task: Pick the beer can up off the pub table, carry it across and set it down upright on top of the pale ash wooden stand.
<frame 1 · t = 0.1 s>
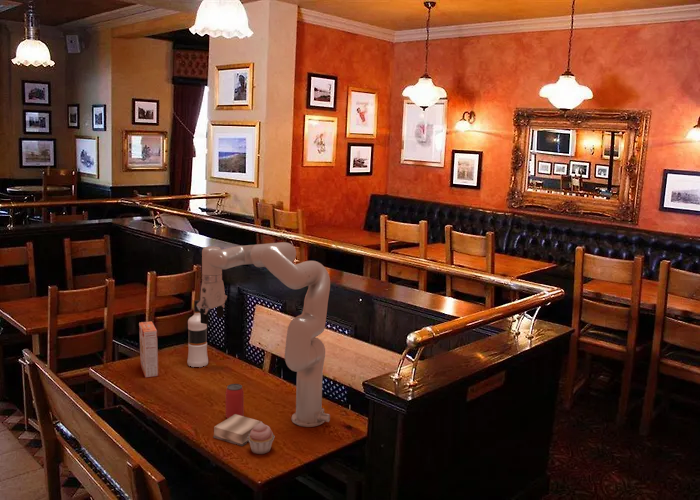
hand: (212, 320, 259), 31 cm above the table, tool pointing down, fingers open, 9 cm apart
stand: (238, 434, 232), on the table
cupcake: (260, 450, 221), on the table
cracker box: (149, 372, 287), on the table
vodka: (197, 364, 297), on the table
beer can: (234, 417, 246), on the table
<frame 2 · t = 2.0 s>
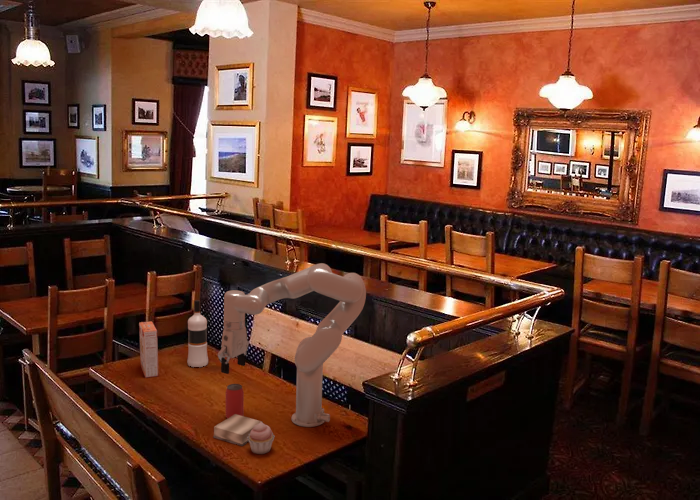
hand: (233, 369, 242), 19 cm above the table, tool pointing down, fingers open, 9 cm apart
nothing on the table moved.
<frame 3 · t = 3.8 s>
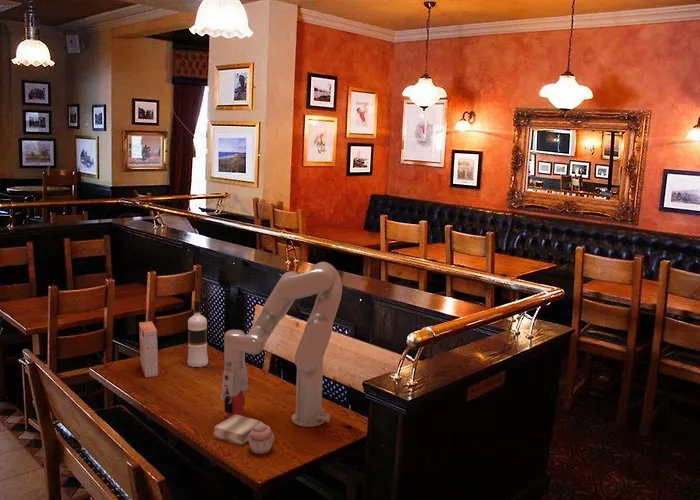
hand: (234, 408, 245), 3 cm above the table, tool pointing down, fingers closed on beer can, 6 cm apart
beer can: (234, 417, 246), on the table, touching gripper
everything else where it was.
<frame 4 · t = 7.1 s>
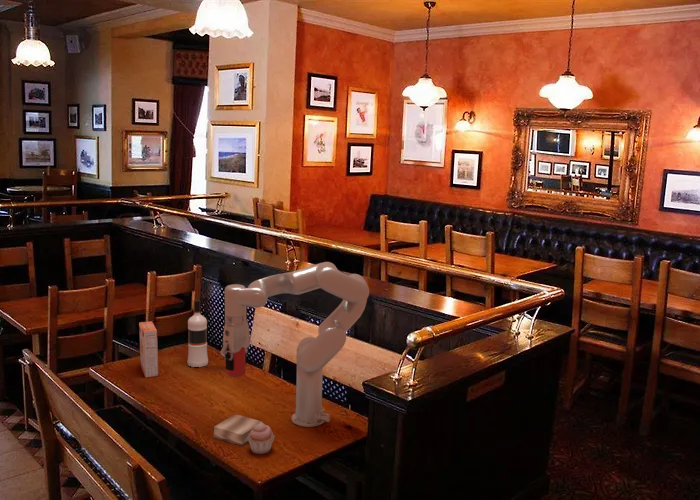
hand: (236, 366, 238), 21 cm above the table, tool pointing down, fingers closed on beer can, 6 cm apart
beer can: (236, 375, 239), point 18 cm above the table, touching gripper
everything else where it was.
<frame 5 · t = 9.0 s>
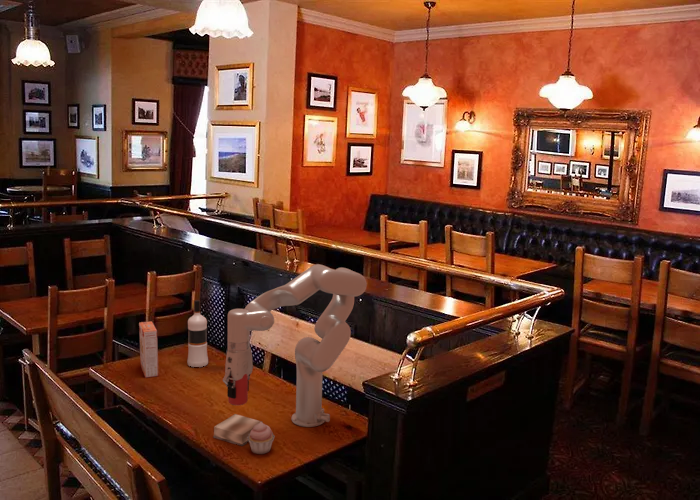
hand: (238, 393, 229), 15 cm above the table, tool pointing down, fingers closed on beer can, 6 cm apart
beer can: (238, 402, 229), point 12 cm above the table, touching gripper
everything else where it was.
when the fingers open (9 cm above the table, at t = 10.6 s): beer can drops 2 cm, resting on stand.
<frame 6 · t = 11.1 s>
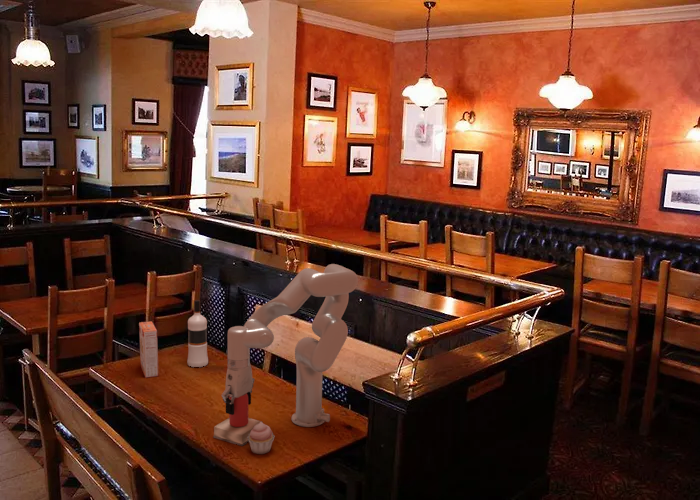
hand: (238, 408, 230), 10 cm above the table, tool pointing down, fingers open, 9 cm apart
beer can: (238, 424, 231), point 4 cm above the table, touching stand
everything else where it was.
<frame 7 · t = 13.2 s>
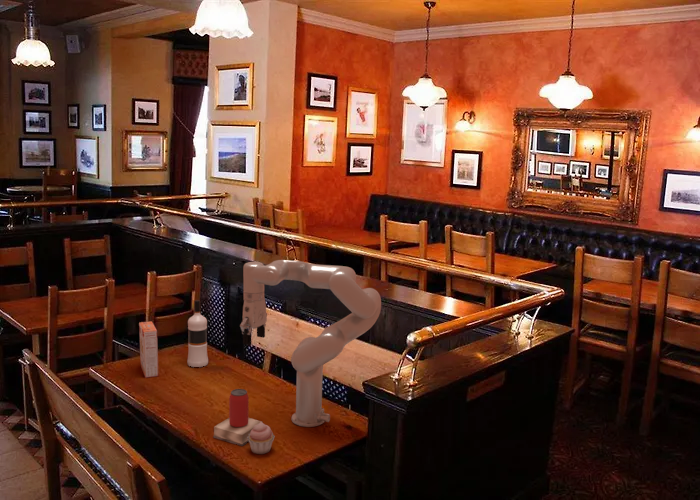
hand: (254, 340, 243), 29 cm above the table, tool pointing down, fingers open, 9 cm apart
nothing on the table moved.
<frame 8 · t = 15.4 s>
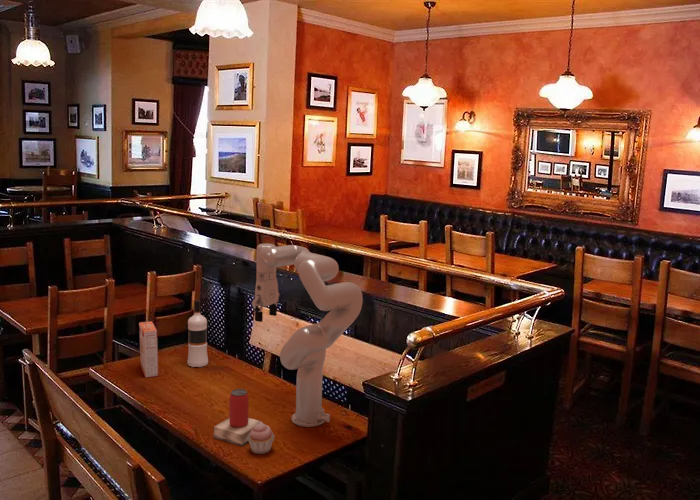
hand: (265, 318, 257), 33 cm above the table, tool pointing down, fingers open, 9 cm apart
nothing on the table moved.
at the end: beer can inside the target area on the stand (0.1 cm from its centre), point 3.8 cm above the stand's base; beer can tilted 0°; the gripper is holding nothing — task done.
